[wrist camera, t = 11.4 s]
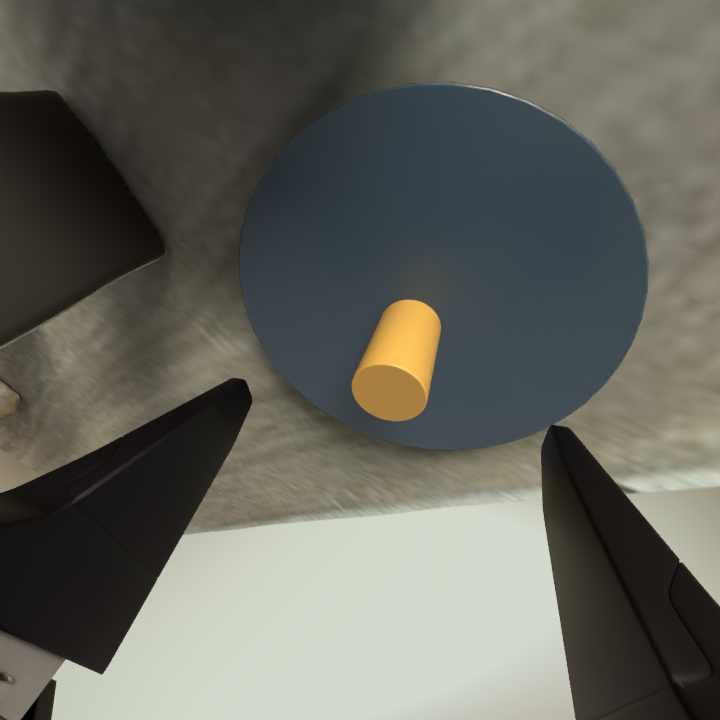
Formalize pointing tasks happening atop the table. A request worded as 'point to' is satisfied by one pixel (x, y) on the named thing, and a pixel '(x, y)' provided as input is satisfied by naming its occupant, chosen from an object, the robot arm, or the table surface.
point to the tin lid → (443, 266)
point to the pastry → (7, 400)
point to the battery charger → (59, 215)
